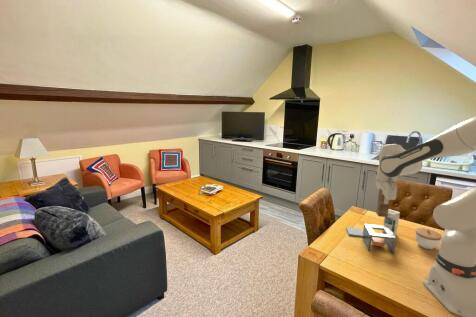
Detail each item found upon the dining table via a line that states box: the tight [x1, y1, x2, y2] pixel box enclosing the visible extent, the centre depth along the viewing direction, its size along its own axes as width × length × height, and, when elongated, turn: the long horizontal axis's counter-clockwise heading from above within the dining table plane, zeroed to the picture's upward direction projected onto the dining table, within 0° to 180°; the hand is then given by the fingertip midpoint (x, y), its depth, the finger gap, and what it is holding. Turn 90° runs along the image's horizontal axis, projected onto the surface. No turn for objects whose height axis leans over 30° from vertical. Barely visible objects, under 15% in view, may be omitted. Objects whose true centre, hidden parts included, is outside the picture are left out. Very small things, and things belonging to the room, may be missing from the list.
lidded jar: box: [414, 227, 442, 250], centre depth 126 cm, size 11×11×9 cm
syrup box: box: [381, 208, 401, 236], centre depth 137 cm, size 6×6×14 cm
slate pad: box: [346, 226, 363, 238], centre depth 140 cm, size 8×8×1 cm
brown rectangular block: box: [376, 189, 390, 218], centre depth 122 cm, size 4×4×14 cm
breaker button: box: [371, 237, 386, 248], centre depth 127 cm, size 5×5×2 cm
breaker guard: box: [361, 223, 397, 255], centre depth 127 cm, size 12×12×9 cm
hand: (383, 201), depth 122 cm, fingers closed on brown rectangular block, 4 cm apart
